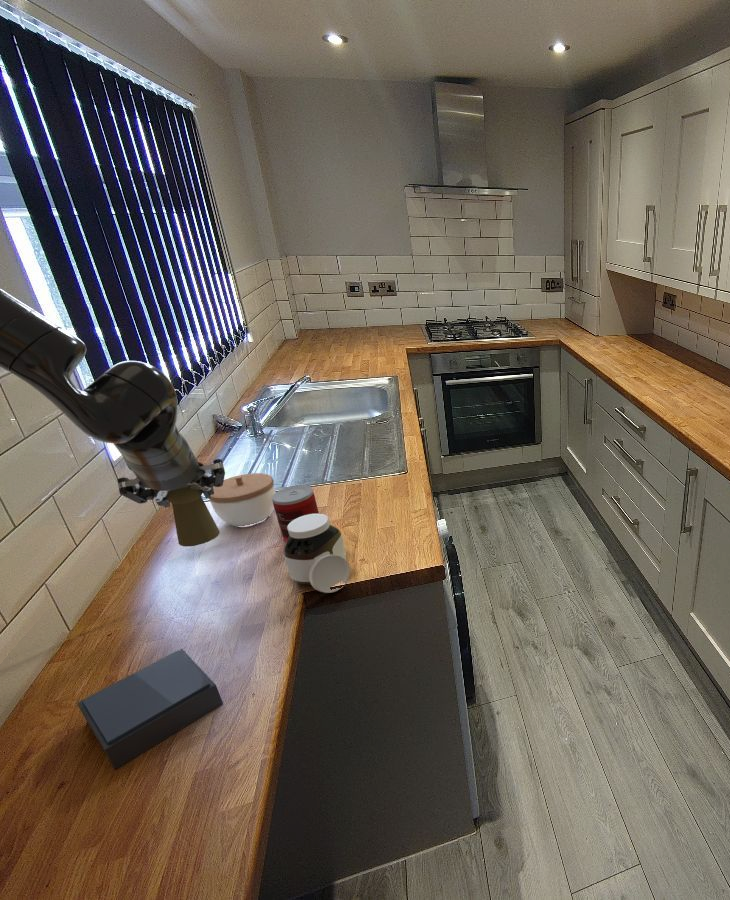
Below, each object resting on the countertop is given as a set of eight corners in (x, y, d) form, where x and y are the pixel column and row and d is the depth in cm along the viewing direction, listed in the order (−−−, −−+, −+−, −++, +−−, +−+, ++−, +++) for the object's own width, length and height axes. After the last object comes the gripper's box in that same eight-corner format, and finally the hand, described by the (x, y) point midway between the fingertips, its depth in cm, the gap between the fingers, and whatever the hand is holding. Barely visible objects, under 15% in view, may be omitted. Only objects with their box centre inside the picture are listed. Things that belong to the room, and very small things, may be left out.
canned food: (318, 524, 119) (307, 481, 115) (328, 539, 113) (317, 494, 109) (280, 536, 115) (268, 491, 110) (288, 552, 109) (275, 506, 105)
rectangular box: (115, 770, 65) (103, 747, 63) (87, 722, 71) (75, 700, 70) (223, 703, 74) (215, 682, 72) (189, 666, 80) (181, 646, 79)
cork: (175, 537, 93) (155, 481, 89) (215, 524, 97) (198, 471, 93) (181, 550, 89) (160, 493, 85) (223, 537, 93) (205, 481, 89)
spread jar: (320, 557, 107) (307, 507, 102) (371, 562, 105) (360, 512, 101) (277, 595, 96) (261, 541, 92) (333, 601, 94) (319, 546, 90)
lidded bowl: (269, 531, 116) (256, 487, 112) (207, 537, 115) (191, 492, 110) (291, 504, 128) (279, 463, 124) (235, 509, 126) (221, 467, 122)
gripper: (213, 426, 83) (231, 469, 97) (93, 445, 76) (131, 489, 89) (223, 467, 81) (240, 505, 95) (101, 492, 74) (138, 529, 87)
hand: (187, 497), depth 92 cm, fingers closed on cork, 5 cm apart
